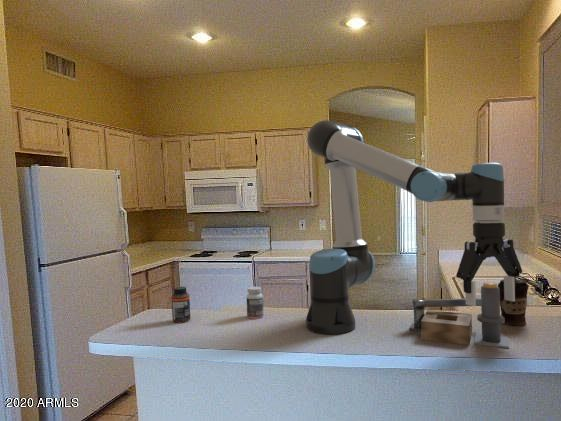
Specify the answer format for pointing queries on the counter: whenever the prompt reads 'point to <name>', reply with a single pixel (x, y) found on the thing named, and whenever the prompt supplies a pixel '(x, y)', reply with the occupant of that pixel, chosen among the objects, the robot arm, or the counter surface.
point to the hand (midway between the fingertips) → (490, 302)
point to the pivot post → (417, 319)
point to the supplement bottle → (180, 305)
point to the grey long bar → (441, 303)
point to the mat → (479, 341)
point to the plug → (490, 313)
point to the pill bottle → (255, 303)
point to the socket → (447, 327)
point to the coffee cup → (514, 303)
